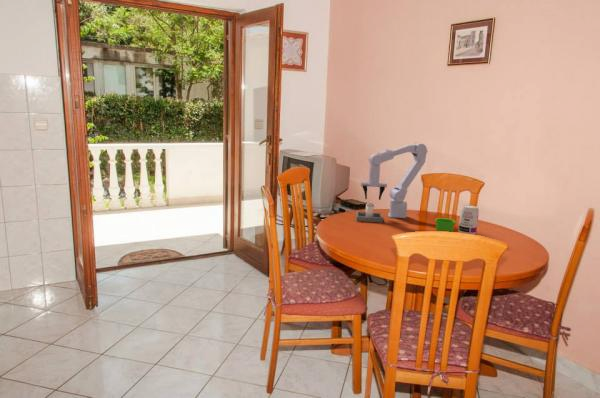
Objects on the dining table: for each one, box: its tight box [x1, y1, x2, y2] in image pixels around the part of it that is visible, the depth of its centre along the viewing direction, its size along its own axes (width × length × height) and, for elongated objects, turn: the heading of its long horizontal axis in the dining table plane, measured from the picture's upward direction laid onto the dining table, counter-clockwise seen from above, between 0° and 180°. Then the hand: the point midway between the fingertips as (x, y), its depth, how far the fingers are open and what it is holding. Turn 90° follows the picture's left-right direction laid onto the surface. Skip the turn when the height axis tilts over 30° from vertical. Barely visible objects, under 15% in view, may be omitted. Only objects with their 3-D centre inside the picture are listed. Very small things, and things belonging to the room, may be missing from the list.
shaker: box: [365, 202, 375, 217], centre depth 235 cm, size 4×4×8 cm
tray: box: [355, 211, 384, 224], centre depth 236 cm, size 14×12×2 cm
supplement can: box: [457, 204, 480, 235], centre depth 208 cm, size 8×8×15 cm
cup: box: [434, 217, 456, 233], centre depth 194 cm, size 9×9×11 cm
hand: (372, 199), depth 242 cm, fingers open, 7 cm apart
